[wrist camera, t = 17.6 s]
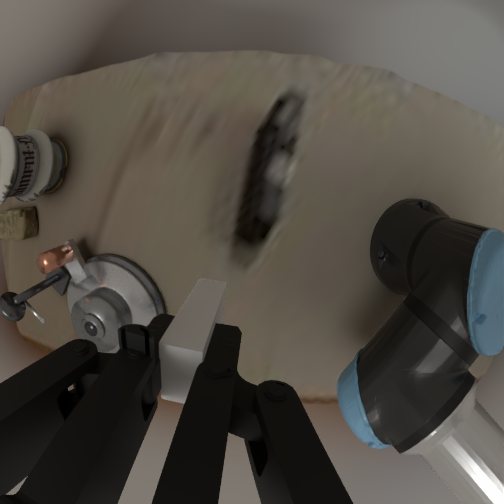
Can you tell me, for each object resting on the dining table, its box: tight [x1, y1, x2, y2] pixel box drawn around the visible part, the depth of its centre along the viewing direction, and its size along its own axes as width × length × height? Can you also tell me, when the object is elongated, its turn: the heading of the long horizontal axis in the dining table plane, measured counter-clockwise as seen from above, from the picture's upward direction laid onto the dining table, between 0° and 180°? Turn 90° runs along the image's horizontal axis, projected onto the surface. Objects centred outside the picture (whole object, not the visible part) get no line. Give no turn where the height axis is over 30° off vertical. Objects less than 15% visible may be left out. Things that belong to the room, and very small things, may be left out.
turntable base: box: [85, 254, 166, 314], centre depth 42 cm, size 19×19×2 cm
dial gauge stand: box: [0, 266, 72, 324], centre depth 34 cm, size 8×5×16 cm, turn 51°
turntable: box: [37, 239, 159, 353], centre depth 36 cm, size 18×22×9 cm
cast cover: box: [71, 287, 132, 352], centre depth 36 cm, size 9×9×6 cm
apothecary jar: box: [0, 126, 67, 205], centre depth 28 cm, size 12×12×18 cm
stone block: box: [0, 207, 38, 240], centre depth 37 cm, size 6×12×5 cm, turn 90°
